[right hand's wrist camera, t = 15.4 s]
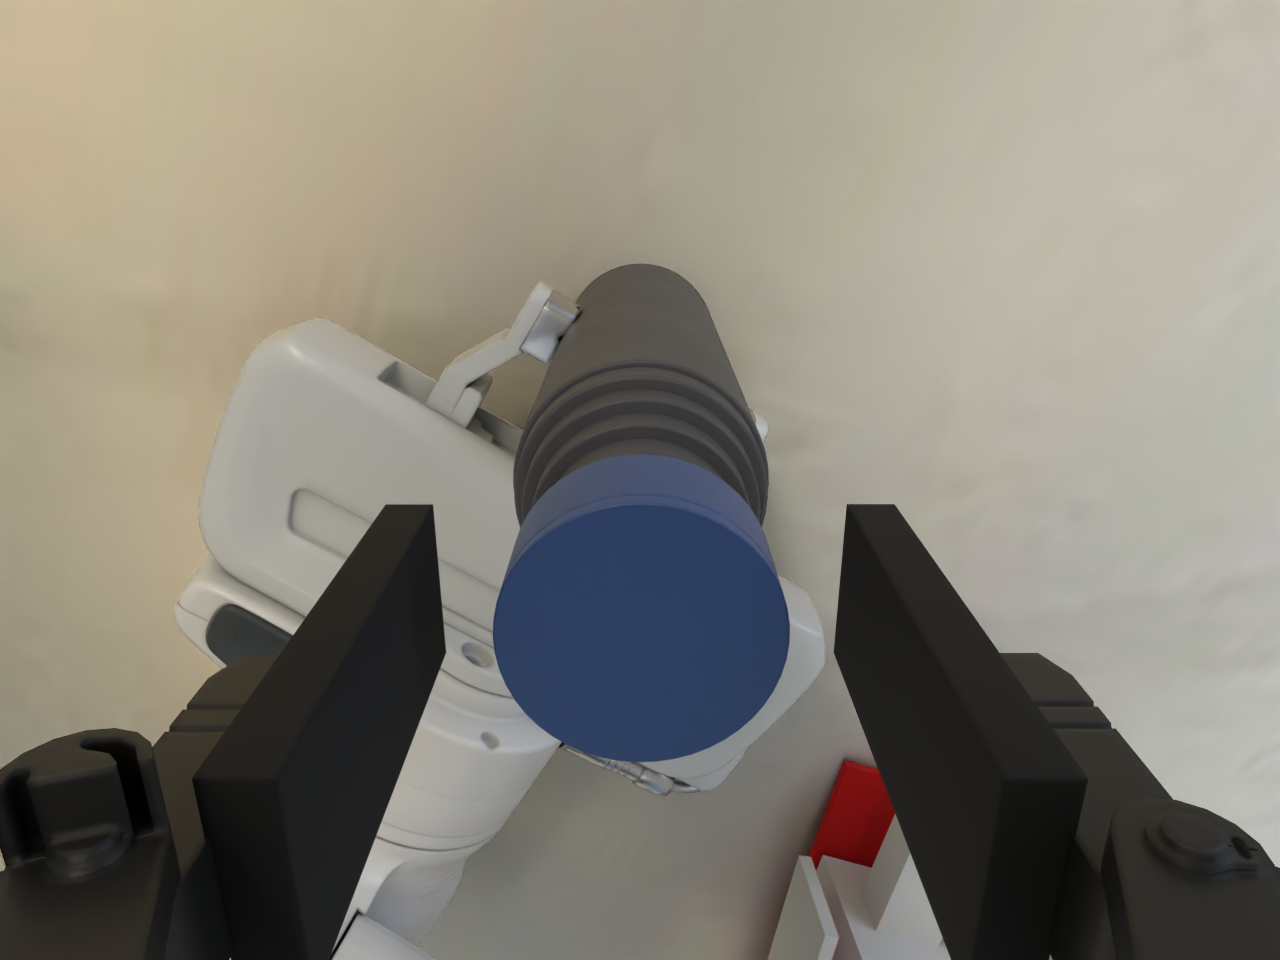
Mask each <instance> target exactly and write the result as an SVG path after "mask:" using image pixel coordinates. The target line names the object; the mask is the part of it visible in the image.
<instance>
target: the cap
mask: <svg viewBox="0 0 1280 960" xmlns="http://www.w3.org/2000/svg"><path fill="white" fill-rule="evenodd" d="M493 643H494V652H495V656H496V660H497V664H498V668H499V671H500V673H501V675H502V678H503V680H504V682H505V685H506V687H507V688H508V690H509V692H510V693H511V695H512V696H513V698H514V700H515V701H516V702H517V704H518V705H519V706H520V707H521V709H522V710H523V711H524V712H525V714H526V715H527V716H528V717H529V718H531V719H532V720H533V721H534V722H535V723H536V724H537V725H538V726H539V727H540V728H542V729H543V730H544V731H546V732H547V733H548V734H550V735H551V736H552V737H554V738H556V739H558V740H559V741H561V742H563V743H565V744H566V745H568V746H571V747H573V748H575V749H578V750H580V751H582V752H585V753H588V754H591V755H595V756H598V757H601V758H606V759H612V760H617V761H627V762H657V761H664V760H671V759H676V758H680V757H684V756H688V755H692V754H695V753H697V752H700V751H703V750H705V749H708V748H710V747H712V746H714V745H716V744H718V743H720V742H722V741H723V740H725V739H727V738H728V737H730V736H731V735H733V734H734V733H736V732H737V731H739V730H740V729H741V728H742V727H743V726H744V725H746V724H747V723H748V722H749V721H750V720H751V719H752V718H753V717H754V716H755V715H756V714H757V713H758V712H759V711H760V709H761V708H762V707H763V706H764V705H765V703H766V702H767V700H768V699H769V697H770V696H771V694H772V693H773V691H774V689H775V687H776V685H777V683H778V681H779V679H780V677H781V675H782V672H783V669H784V666H785V663H786V660H787V655H788V649H789V643H790V622H789V614H788V608H787V604H786V601H785V597H784V594H783V590H782V587H781V584H780V581H779V578H778V575H777V572H776V569H775V565H774V562H773V559H772V556H771V553H770V550H769V547H768V544H767V541H766V537H765V534H764V532H763V530H762V528H761V525H760V523H759V521H758V519H757V518H756V516H755V514H754V513H753V511H752V510H751V508H750V507H749V505H748V504H747V503H746V502H745V501H744V499H743V498H742V497H741V496H740V495H739V494H738V493H737V492H736V491H735V490H734V489H733V488H732V487H731V486H729V485H728V484H727V483H726V482H725V481H723V480H722V479H720V478H719V477H717V476H716V475H714V474H713V473H711V472H709V471H707V470H705V469H703V468H701V467H699V466H697V465H694V464H691V463H688V462H686V461H683V460H680V459H675V458H671V457H666V456H659V455H647V454H638V455H623V456H616V457H611V458H607V459H603V460H600V461H597V462H593V463H591V464H588V465H586V466H584V467H582V468H579V469H577V470H575V471H574V472H572V473H570V474H569V475H567V476H565V477H564V478H562V479H561V480H559V481H558V482H557V483H556V484H554V485H553V486H552V487H551V488H549V489H548V490H547V491H546V492H545V493H544V494H543V495H542V497H541V498H540V499H539V500H538V501H537V502H536V503H535V505H534V506H533V508H532V509H531V510H530V512H529V513H528V515H527V516H526V518H525V520H524V522H523V524H522V526H521V528H520V530H519V533H518V536H517V539H516V542H515V545H514V548H513V551H512V554H511V558H510V561H509V564H508V567H507V570H506V574H505V577H504V580H503V583H502V586H501V590H500V593H499V596H498V599H497V602H496V608H495V613H494V618H493Z"/></svg>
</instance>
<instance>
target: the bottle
mask: <svg viewBox="0 0 1280 960" xmlns="http://www.w3.org/2000/svg"><path fill="white" fill-rule="evenodd" d="M576 304H578V305H579V306H581V307H580V309H579V312H578V314H577V316H576V318H575V320H574V322H573V323H572V325H571V327H570V328H569V329H568V331H567V332H566V333H565V334H564V335H563V336H562V338H561V341H560V343H559V346H558V348H557V350H556V352H555V354H554V357H553V359H552V362H551V364H550V367H549V369H548V372H547V374H546V377H545V379H544V382H543V384H542V387H541V389H540V391H539V394H538V396H537V399H536V401H535V404H534V406H533V409H532V411H531V414H530V416H529V419H528V421H527V423H526V426H525V428H524V431H523V433H522V436H521V438H520V441H519V445H518V448H517V451H516V455H515V462H514V469H513V488H514V501H515V508H516V515H517V519H518V522H519V526H520V528H521V526H522V524H523V522H524V520H525V518H526V516H527V515H528V513H529V512H530V510H531V509H532V508H533V506H534V505H535V503H536V502H537V501H538V500H539V499H540V498H541V497H542V495H543V494H544V493H545V492H546V491H547V490H548V489H549V488H551V487H552V486H553V485H554V484H556V483H557V482H558V481H559V480H561V479H562V478H564V477H565V476H567V475H569V474H570V473H572V472H574V471H575V470H577V469H579V468H582V467H584V466H586V465H588V464H591V463H593V462H597V461H600V460H603V459H607V458H611V457H616V456H623V455H638V454H647V455H659V456H666V457H671V458H675V459H680V460H683V461H686V462H688V463H691V464H694V465H697V466H699V467H701V468H703V469H705V470H707V471H709V472H711V473H713V474H714V475H716V476H717V477H719V478H720V479H722V480H723V481H725V482H726V483H727V484H728V485H729V486H731V487H732V488H733V489H734V490H735V491H736V492H737V493H738V494H739V495H740V496H741V497H742V498H743V499H744V501H745V502H746V503H747V504H748V505H749V507H750V508H751V510H752V511H753V513H754V514H755V516H756V518H757V519H758V521H759V523H760V525H761V528H762V525H763V521H764V517H765V514H766V506H767V498H768V495H767V493H768V484H769V482H768V464H767V458H766V452H765V449H764V446H763V443H762V439H761V436H760V434H759V432H758V429H757V427H756V424H755V422H754V420H753V417H752V415H751V412H750V410H749V407H748V405H747V403H746V400H745V398H744V395H743V393H742V391H741V388H740V386H739V383H738V381H737V379H736V376H735V374H734V371H733V369H732V366H731V364H730V362H729V359H728V357H727V354H726V352H725V350H724V347H723V345H722V342H721V340H720V338H719V335H718V333H717V330H716V328H715V325H714V323H713V321H712V318H711V316H710V313H709V311H708V309H707V307H706V304H705V302H704V300H703V299H702V297H701V296H700V294H699V293H698V292H697V290H696V289H695V288H694V287H693V286H692V285H691V284H690V283H689V282H688V281H687V280H686V279H684V278H683V277H681V276H680V275H678V274H677V273H675V272H673V271H671V270H669V269H666V268H663V267H660V266H655V265H650V264H631V265H626V266H621V267H618V268H615V269H612V270H610V271H608V272H606V273H604V274H602V275H601V276H599V277H598V278H597V279H595V280H594V281H593V282H592V283H591V284H590V285H589V286H587V288H586V289H585V290H584V291H583V292H582V294H581V295H580V297H579V298H578V300H577V302H576Z"/></svg>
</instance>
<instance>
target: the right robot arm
mask: <svg viewBox="0 0 1280 960" xmlns="http://www.w3.org/2000/svg"><path fill="white" fill-rule="evenodd" d="M445 654H446V645H445V634H444V622H443V611H442V600H441V589H440V577H439V566H438V555H437V543H436V532H435V521H434V509H433V504H386V505H385V506H384V507H383V509H382V510H381V512H380V513H379V514H378V516H377V517H376V519H375V520H374V522H373V523H372V524H371V526H370V527H369V529H368V530H367V531H366V533H365V534H364V536H363V537H362V538H361V540H360V541H359V543H358V544H357V546H356V547H355V548H354V550H353V551H352V553H351V554H350V555H349V557H348V558H347V560H346V561H345V563H344V564H343V565H342V567H341V568H340V570H339V571H338V572H337V574H336V575H335V577H334V578H333V579H332V581H331V582H330V584H329V585H328V587H327V588H326V589H325V591H324V592H323V594H322V595H321V596H320V598H319V599H318V601H317V602H316V604H315V605H314V606H313V608H312V609H311V611H310V612H309V613H308V615H307V616H306V618H305V619H304V621H303V622H302V623H301V625H300V626H299V628H298V629H297V630H296V632H295V633H294V635H293V636H292V637H291V639H290V640H289V642H288V643H287V645H286V646H285V647H284V649H283V650H282V652H281V653H280V654H279V656H242V657H240V658H239V659H237V660H236V661H234V662H232V663H231V664H229V665H228V666H226V667H225V668H223V669H222V670H220V671H219V672H217V673H216V674H214V675H213V676H211V677H210V678H208V679H207V681H206V682H205V683H204V684H203V686H202V687H201V688H200V689H199V691H198V692H197V693H196V694H195V695H194V697H193V698H192V699H191V700H190V702H189V703H188V704H187V710H182V712H181V713H180V714H179V715H178V716H177V718H176V719H175V720H174V721H173V723H172V724H171V725H170V730H169V732H165V733H164V734H163V735H162V736H161V738H160V739H159V740H158V741H157V742H156V744H155V745H154V746H153V747H152V745H151V742H149V741H148V740H147V739H145V738H144V737H143V736H142V735H140V734H139V733H138V732H133V731H127V730H122V729H116V728H111V729H99V730H86V731H82V732H79V733H75V734H71V735H68V736H64V737H60V738H56V739H53V740H51V741H49V742H47V743H45V744H42V745H40V746H38V747H36V748H34V749H31V750H29V751H27V752H25V753H23V754H21V755H20V756H19V757H17V758H16V759H14V760H13V761H11V762H10V763H9V764H7V765H6V766H4V767H3V768H2V769H0V849H1V852H2V855H3V859H4V862H5V865H6V867H5V869H4V871H1V872H0V960H230V958H231V960H329V958H330V956H331V953H332V951H333V948H334V945H335V943H336V940H337V937H338V935H339V932H340V930H341V927H342V924H343V922H344V919H345V917H346V914H347V911H348V909H349V906H350V903H351V901H352V898H353V896H354V893H355V890H356V888H357V885H358V882H359V880H360V877H361V875H362V872H363V869H364V867H365V864H366V861H367V859H368V856H369V854H370V851H371V848H372V846H373V843H374V840H375V838H376V835H377V833H378V830H379V827H380V825H381V822H382V820H383V817H384V814H385V812H386V809H387V806H388V804H389V801H390V799H391V796H392V793H393V791H394V788H395V785H396V783H397V780H398V778H399V775H400V772H401V770H402V767H403V764H404V762H405V759H406V757H407V754H408V751H409V749H410V746H411V744H412V741H413V738H414V736H415V733H416V730H417V728H418V725H419V723H420V720H421V717H422V715H423V712H424V709H425V707H426V704H427V702H428V699H429V696H430V694H431V691H432V688H433V686H434V683H435V681H436V678H437V675H438V673H439V670H440V668H441V665H442V662H443V660H444V657H445ZM834 654H835V657H836V660H837V662H838V665H839V668H840V670H841V673H842V675H843V678H844V681H845V683H846V686H847V688H848V691H849V694H850V696H851V699H852V702H853V704H854V707H855V709H856V712H857V715H858V717H859V720H860V723H861V725H862V728H863V730H864V733H865V736H866V738H867V741H868V744H869V746H870V749H871V751H872V754H873V757H874V759H875V762H876V764H877V767H878V770H879V772H880V775H881V778H882V780H883V783H884V785H885V788H886V791H887V793H888V796H889V799H890V801H891V804H892V806H893V809H894V812H895V814H896V817H897V820H898V822H899V825H900V827H901V830H902V833H903V835H904V838H905V841H906V843H907V846H908V848H909V851H910V854H911V856H912V859H913V861H914V864H915V867H916V869H917V872H918V875H919V877H920V880H921V882H922V885H923V888H924V890H925V893H926V896H927V898H928V901H929V903H930V906H931V909H932V911H933V914H934V917H935V919H936V922H937V924H938V927H939V930H940V932H941V935H942V937H943V940H944V943H945V945H946V948H947V951H948V953H949V956H950V958H951V960H1049V957H1050V955H1051V957H1052V959H1053V960H1280V868H1278V867H1275V865H1274V864H1273V862H1272V861H1271V859H1270V858H1269V856H1268V855H1267V854H1266V852H1265V851H1264V849H1263V848H1262V846H1261V845H1260V844H1259V843H1258V842H1257V841H1256V840H1254V839H1253V838H1252V837H1251V836H1249V835H1248V834H1247V833H1246V832H1244V831H1243V830H1242V829H1241V828H1239V827H1238V826H1237V825H1236V824H1234V823H1232V822H1230V821H1228V820H1226V819H1224V818H1222V817H1220V816H1218V815H1216V814H1214V813H1213V812H1211V811H1209V810H1207V809H1204V808H1200V807H1197V806H1194V805H1191V804H1187V803H1184V802H1181V801H1177V800H1173V799H1172V797H1171V796H1170V795H1169V794H1168V793H1167V791H1166V790H1165V789H1164V788H1163V786H1162V785H1161V784H1160V783H1159V781H1158V780H1157V779H1156V778H1155V777H1154V775H1153V774H1152V773H1151V772H1150V770H1149V769H1148V768H1147V767H1146V765H1145V764H1144V763H1143V762H1142V761H1141V759H1140V758H1139V757H1138V756H1137V754H1136V753H1135V752H1134V751H1133V750H1132V748H1131V747H1130V746H1129V745H1128V743H1127V742H1126V741H1125V740H1124V738H1123V737H1122V736H1121V735H1120V734H1119V732H1118V731H1117V730H1116V729H1112V728H1111V723H1110V721H1109V720H1108V719H1107V718H1106V716H1105V715H1104V714H1103V713H1102V711H1101V710H1100V709H1099V708H1098V707H1094V705H1093V700H1092V699H1091V698H1090V697H1089V695H1088V694H1087V693H1086V692H1085V691H1084V689H1083V688H1082V687H1081V686H1080V684H1079V683H1078V682H1077V681H1076V680H1075V678H1074V677H1073V676H1072V675H1071V674H1069V673H1068V672H1066V671H1065V670H1063V669H1062V668H1060V667H1058V666H1057V665H1055V664H1054V663H1052V662H1051V661H1049V660H1048V659H1046V658H1045V657H1043V656H1042V655H1040V654H1039V653H999V652H998V650H997V649H996V647H995V646H994V645H993V643H992V642H991V640H990V639H989V637H988V636H987V635H986V633H985V632H984V630H983V629H982V628H981V626H980V625H979V623H978V622H977V621H976V619H975V618H974V616H973V615H972V613H971V612H970V611H969V609H968V608H967V606H966V605H965V604H964V602H963V601H962V599H961V598H960V596H959V595H958V594H957V592H956V591H955V589H954V588H953V587H952V585H951V584H950V582H949V581H948V580H947V578H946V577H945V575H944V574H943V572H942V571H941V570H940V568H939V567H938V565H937V564H936V563H935V561H934V560H933V558H932V557H931V555H930V554H929V553H928V551H927V550H926V548H925V547H924V546H923V544H922V543H921V541H920V540H919V538H918V537H917V536H916V534H915V533H914V531H913V530H912V529H911V527H910V526H909V524H908V523H907V522H906V520H905V519H904V517H903V516H902V514H901V513H900V512H899V510H898V509H897V507H896V506H895V505H894V504H847V509H846V521H845V532H844V543H843V555H842V566H841V577H840V588H839V600H838V611H837V622H836V634H835V645H834Z"/></svg>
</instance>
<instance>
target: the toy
mask: <svg viewBox="0 0 1280 960" xmlns="http://www.w3.org/2000/svg"><path fill="white" fill-rule="evenodd" d="M767 960H951V958H950V956H949V953H948V951H947V948H946V945H945V943H944V940H943V937H942V935H941V932H940V930H939V927H938V924H937V922H936V919H935V917H934V914H933V911H932V909H931V906H930V903H929V901H928V898H927V896H926V893H925V890H924V888H923V885H922V882H921V880H920V877H919V875H918V872H917V869H916V867H915V864H914V861H913V859H912V856H911V854H910V851H909V848H908V846H907V843H906V841H905V838H904V835H903V833H902V830H901V827H900V825H899V822H898V820H897V817H896V814H895V812H894V809H893V806H892V804H891V801H890V799H889V796H888V793H887V791H886V788H885V785H884V783H883V780H882V778H881V775H880V772H879V770H878V769H877V768H873V767H869V766H865V765H861V764H857V763H854V762H850V761H846V760H844V762H843V765H842V767H841V770H840V773H839V775H838V778H837V781H836V783H835V786H834V789H833V792H832V794H831V797H830V800H829V802H828V805H827V808H826V810H825V813H824V816H823V819H822V821H821V824H820V827H819V829H818V832H817V835H816V837H815V840H814V843H813V846H812V848H811V851H810V854H809V856H801V855H799V856H798V860H797V863H796V866H795V870H794V873H793V876H792V879H791V883H790V886H789V889H788V893H787V896H786V899H785V903H784V906H783V909H782V913H781V916H780V919H779V923H778V926H777V929H776V933H775V936H774V939H773V943H772V946H771V949H770V953H769V956H768V959H767ZM1049 960H1053V959H1052V957H1051V955H1050V957H1049Z"/></svg>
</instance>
